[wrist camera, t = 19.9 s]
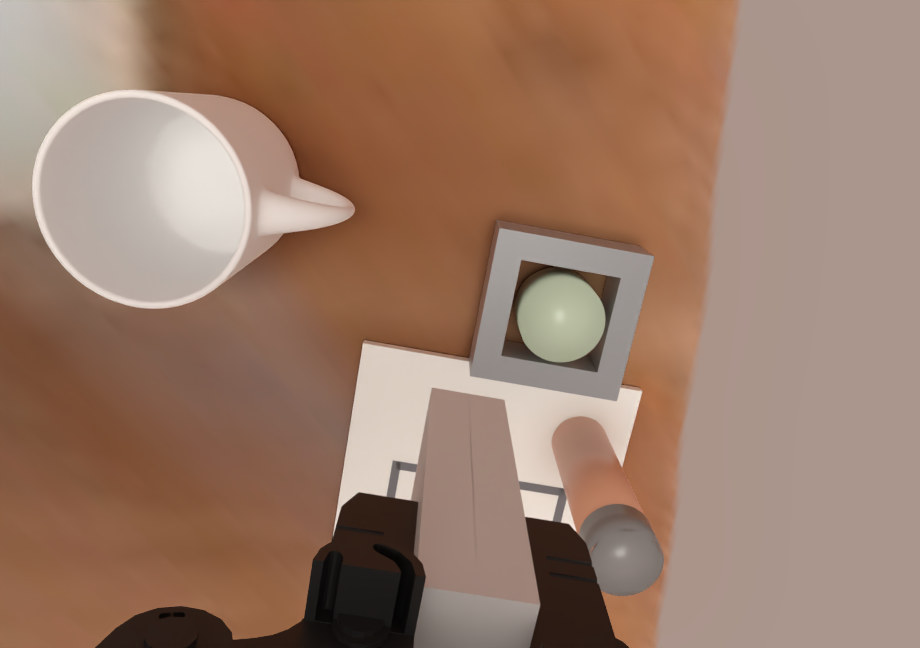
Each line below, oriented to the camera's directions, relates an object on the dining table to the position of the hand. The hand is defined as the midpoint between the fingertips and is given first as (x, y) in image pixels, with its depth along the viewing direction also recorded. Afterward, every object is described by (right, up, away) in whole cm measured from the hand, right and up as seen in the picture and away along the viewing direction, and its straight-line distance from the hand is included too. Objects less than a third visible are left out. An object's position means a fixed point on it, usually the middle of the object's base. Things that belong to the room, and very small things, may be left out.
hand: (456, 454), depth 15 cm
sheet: (+1, -6, +29) cm, 30 cm away
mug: (-11, +10, +25) cm, 29 cm away
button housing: (+5, +4, +26) cm, 27 cm away
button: (+5, +4, +26) cm, 26 cm away
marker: (+7, -4, +28) cm, 29 cm away
